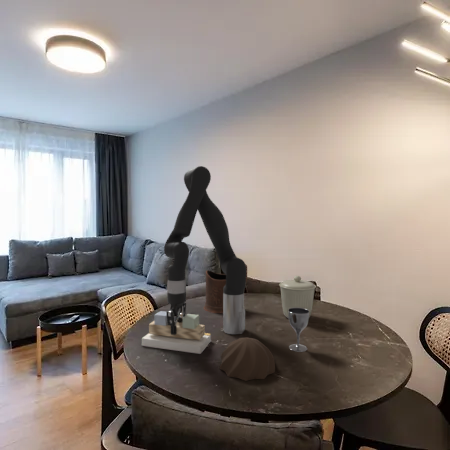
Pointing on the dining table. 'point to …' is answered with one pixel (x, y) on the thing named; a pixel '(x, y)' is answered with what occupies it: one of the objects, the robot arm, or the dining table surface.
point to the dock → (177, 343)
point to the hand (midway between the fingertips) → (176, 331)
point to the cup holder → (215, 291)
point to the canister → (297, 294)
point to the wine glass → (298, 325)
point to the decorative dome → (247, 359)
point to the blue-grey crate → (160, 318)
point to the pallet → (178, 331)
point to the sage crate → (190, 321)
